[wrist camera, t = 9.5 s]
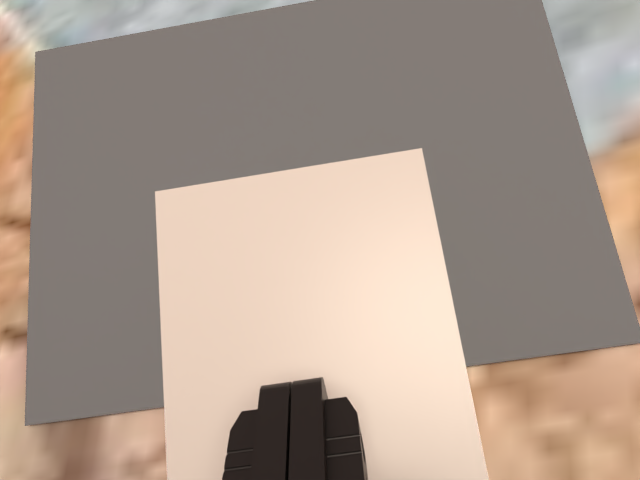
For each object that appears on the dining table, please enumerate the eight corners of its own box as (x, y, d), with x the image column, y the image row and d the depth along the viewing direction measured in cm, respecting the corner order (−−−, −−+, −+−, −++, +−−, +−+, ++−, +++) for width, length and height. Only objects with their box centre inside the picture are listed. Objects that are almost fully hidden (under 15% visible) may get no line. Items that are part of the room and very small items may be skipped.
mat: (639, 343, 17) (644, 342, 17) (30, 425, 19) (24, 425, 18) (527, -34, 22) (529, -40, 21) (39, 55, 23) (35, 51, 23)
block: (489, 481, 14) (421, 148, 16) (168, 518, 14) (154, 191, 17) (469, 462, 17) (414, 181, 19) (203, 495, 17) (186, 218, 20)
